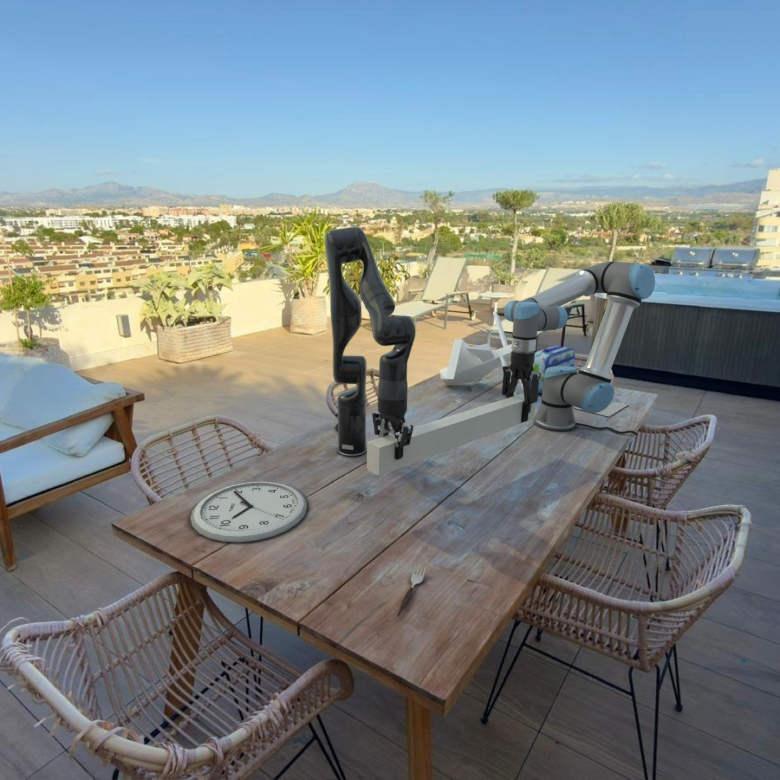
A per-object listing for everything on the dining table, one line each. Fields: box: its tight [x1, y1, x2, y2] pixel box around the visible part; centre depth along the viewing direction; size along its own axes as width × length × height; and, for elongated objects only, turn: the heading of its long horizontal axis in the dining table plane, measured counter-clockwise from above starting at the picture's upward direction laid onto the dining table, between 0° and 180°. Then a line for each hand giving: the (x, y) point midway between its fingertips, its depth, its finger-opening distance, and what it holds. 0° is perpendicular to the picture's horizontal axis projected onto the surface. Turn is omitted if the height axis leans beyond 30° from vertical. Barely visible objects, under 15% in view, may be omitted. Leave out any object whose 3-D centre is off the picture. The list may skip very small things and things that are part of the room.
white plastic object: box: [438, 310, 523, 396], centre depth 245 cm, size 37×45×31 cm
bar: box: [366, 392, 537, 477], centre depth 156 cm, size 68×5×8 cm, turn 131°
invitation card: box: [573, 400, 629, 418], centre depth 226 cm, size 21×1×15 cm
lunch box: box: [530, 345, 576, 394], centre depth 244 cm, size 26×11×21 cm, turn 135°
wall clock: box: [190, 481, 308, 544], centre depth 139 cm, size 30×2×30 cm
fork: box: [397, 562, 427, 617], centre depth 109 cm, size 3×16×2 cm, turn 160°
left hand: (391, 454), depth 138 cm, fingers closed on bar, 5 cm apart
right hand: (517, 418), depth 174 cm, fingers closed on bar, 5 cm apart
